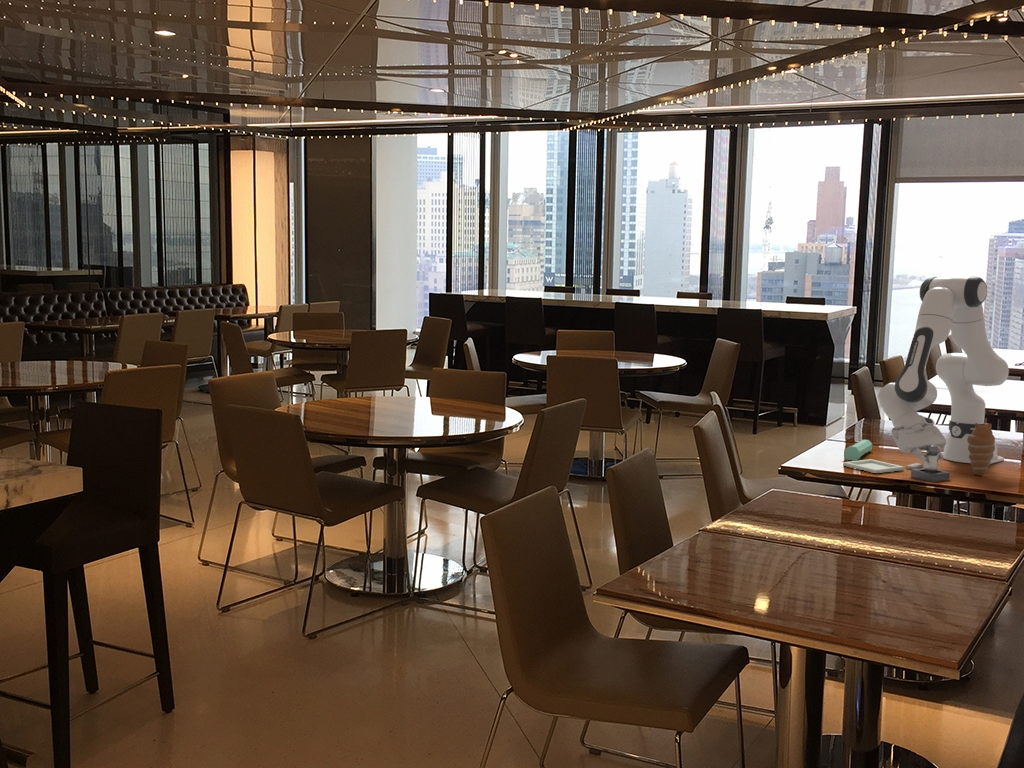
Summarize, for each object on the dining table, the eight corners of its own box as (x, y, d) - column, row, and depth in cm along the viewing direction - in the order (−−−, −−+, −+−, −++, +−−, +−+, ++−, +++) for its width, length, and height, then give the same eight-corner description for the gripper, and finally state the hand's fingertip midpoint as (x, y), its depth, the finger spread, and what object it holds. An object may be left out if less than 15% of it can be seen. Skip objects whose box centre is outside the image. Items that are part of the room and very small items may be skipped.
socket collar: (927, 474, 326) (927, 467, 326) (949, 479, 319) (949, 472, 319) (910, 477, 322) (911, 469, 322) (932, 482, 315) (933, 474, 315)
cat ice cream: (987, 473, 331) (991, 421, 328) (997, 478, 323) (1002, 425, 321) (960, 472, 331) (965, 421, 329) (970, 477, 323) (975, 424, 321)
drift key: (915, 466, 341) (915, 462, 341) (922, 468, 340) (922, 464, 339) (905, 470, 336) (906, 465, 336) (912, 471, 334) (913, 467, 334)
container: (863, 434, 369) (847, 442, 348) (877, 442, 367) (863, 450, 345) (855, 448, 371) (840, 457, 350) (870, 455, 368) (855, 465, 347)
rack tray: (870, 463, 344) (870, 459, 344) (903, 470, 332) (903, 466, 332) (843, 466, 337) (843, 462, 337) (875, 474, 325) (876, 470, 325)
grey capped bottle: (928, 476, 323) (931, 444, 322) (939, 479, 320) (941, 446, 318) (920, 477, 321) (923, 445, 320) (931, 480, 318) (933, 447, 317)
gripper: (895, 422, 319) (918, 456, 312) (935, 418, 329) (959, 452, 322) (883, 433, 324) (905, 467, 316) (923, 429, 334) (946, 462, 326)
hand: (933, 459), depth 319 cm, fingers open, 7 cm apart
